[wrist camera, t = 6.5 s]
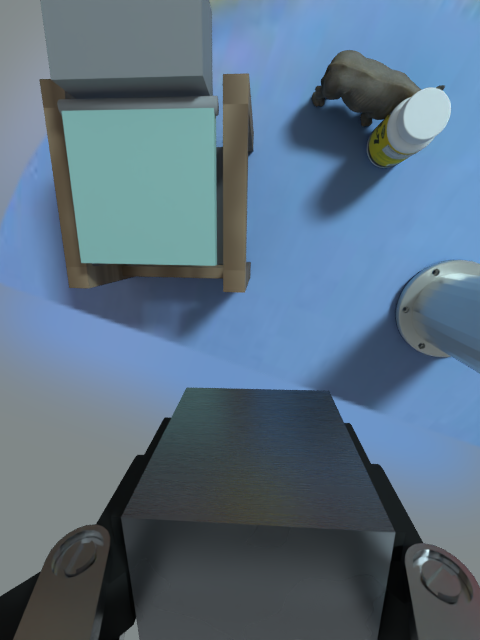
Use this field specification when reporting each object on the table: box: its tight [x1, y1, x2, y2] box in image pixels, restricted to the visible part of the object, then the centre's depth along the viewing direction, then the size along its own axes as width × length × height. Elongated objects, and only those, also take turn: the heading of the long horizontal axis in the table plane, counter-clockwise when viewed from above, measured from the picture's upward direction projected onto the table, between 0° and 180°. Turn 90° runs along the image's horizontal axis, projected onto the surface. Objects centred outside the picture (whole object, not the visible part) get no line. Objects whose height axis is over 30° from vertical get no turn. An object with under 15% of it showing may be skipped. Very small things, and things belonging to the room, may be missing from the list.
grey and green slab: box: [40, 0, 219, 266], centre depth 23 cm, size 12×19×4 cm, turn 179°
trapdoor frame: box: [40, 74, 254, 292], centre depth 30 cm, size 17×17×12 cm
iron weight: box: [121, 388, 395, 640], centre depth 8 cm, size 5×5×5 cm
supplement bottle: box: [367, 88, 451, 168], centre depth 29 cm, size 5×5×8 cm
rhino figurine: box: [312, 50, 445, 126], centre depth 29 cm, size 4×14×6 cm, turn 71°
